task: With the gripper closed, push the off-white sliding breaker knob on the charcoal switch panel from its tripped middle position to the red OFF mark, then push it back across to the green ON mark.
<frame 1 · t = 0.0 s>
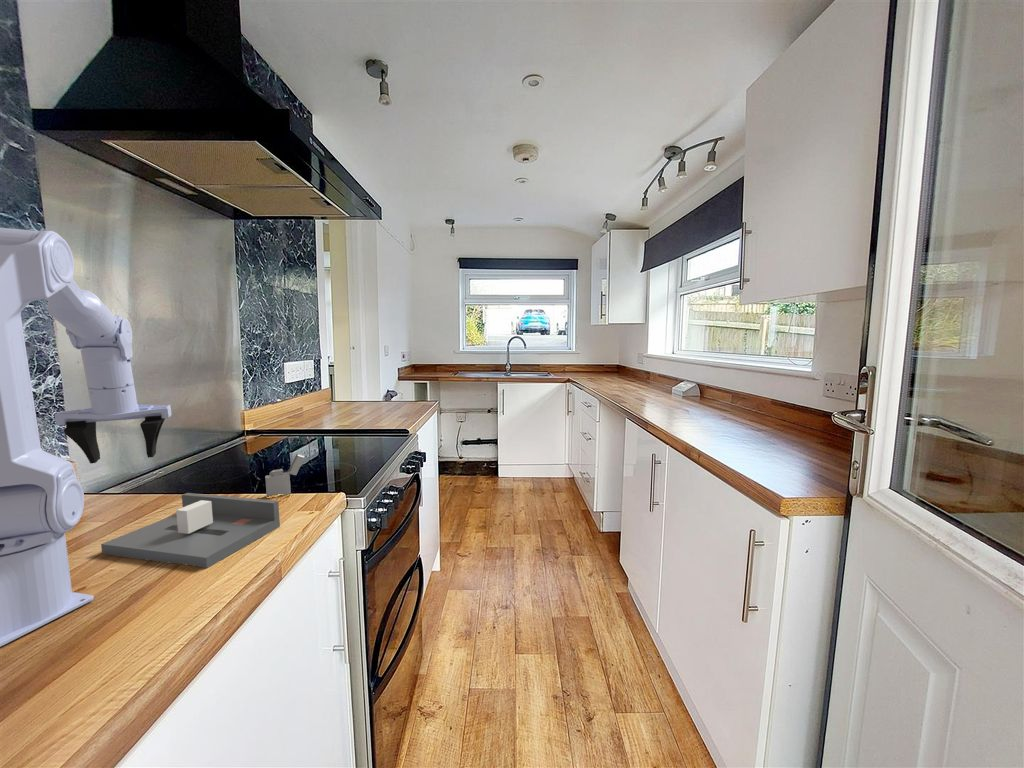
hand: (124, 458, 72), 11 cm above the counter, tool pointing down, fingers open, 7 cm apart
lighter: (287, 494, 83), on the counter
switch panel: (197, 539, 64), on the counter
breaker knob: (195, 516, 63), point 4 cm above the counter, slide at 0.0 cm
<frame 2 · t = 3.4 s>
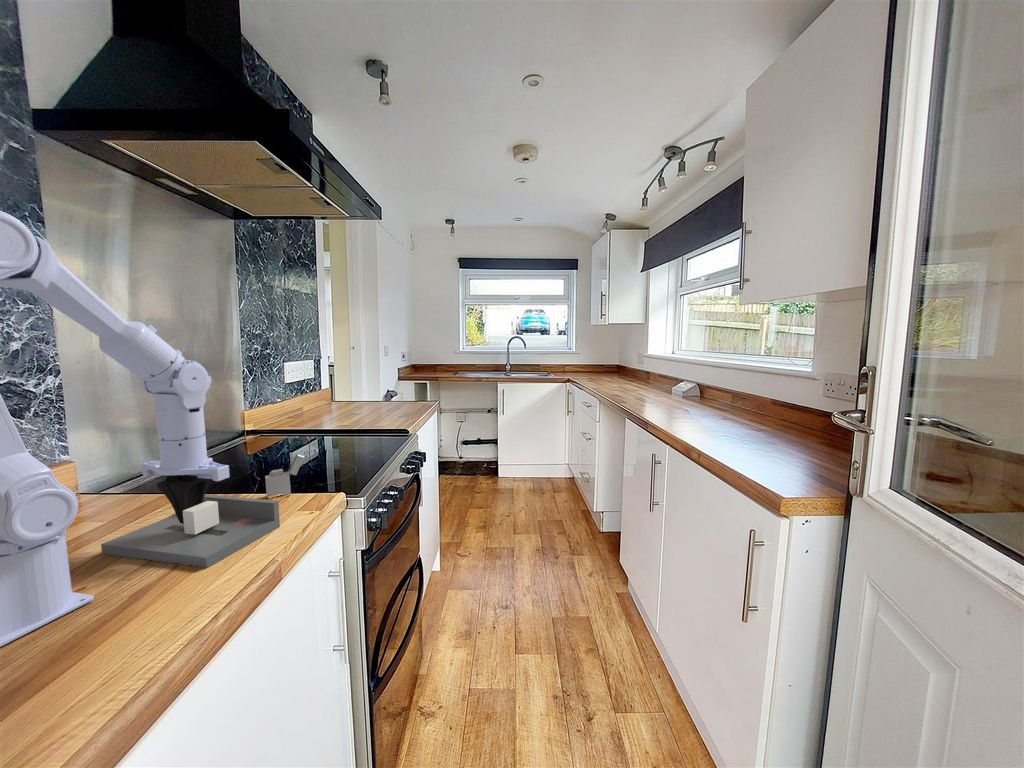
hand: (189, 521, 64), 3 cm above the counter, tool pointing down, fingers closed
breaker knob: (201, 517, 63), point 4 cm above the counter, slide at -1.3 cm, touching gripper
everything else where it was.
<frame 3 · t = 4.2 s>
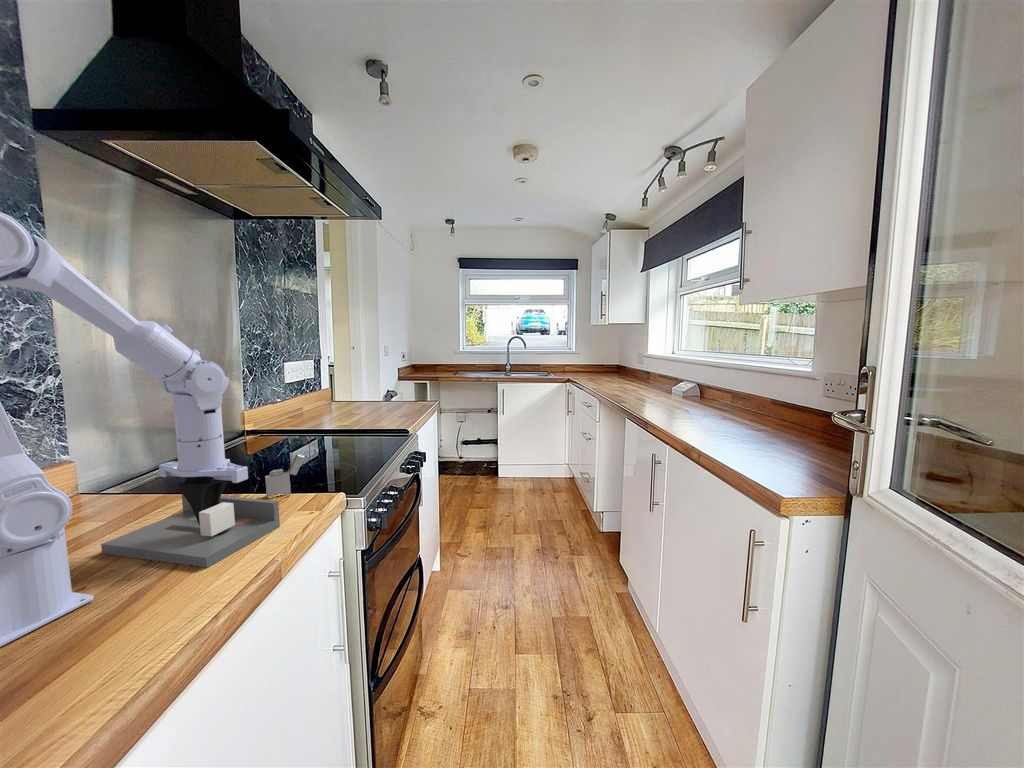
hand: (207, 523, 63), 3 cm above the counter, tool pointing down, fingers closed
breaker knob: (217, 518, 62), point 4 cm above the counter, slide at -4.3 cm, touching gripper
everything else where it was.
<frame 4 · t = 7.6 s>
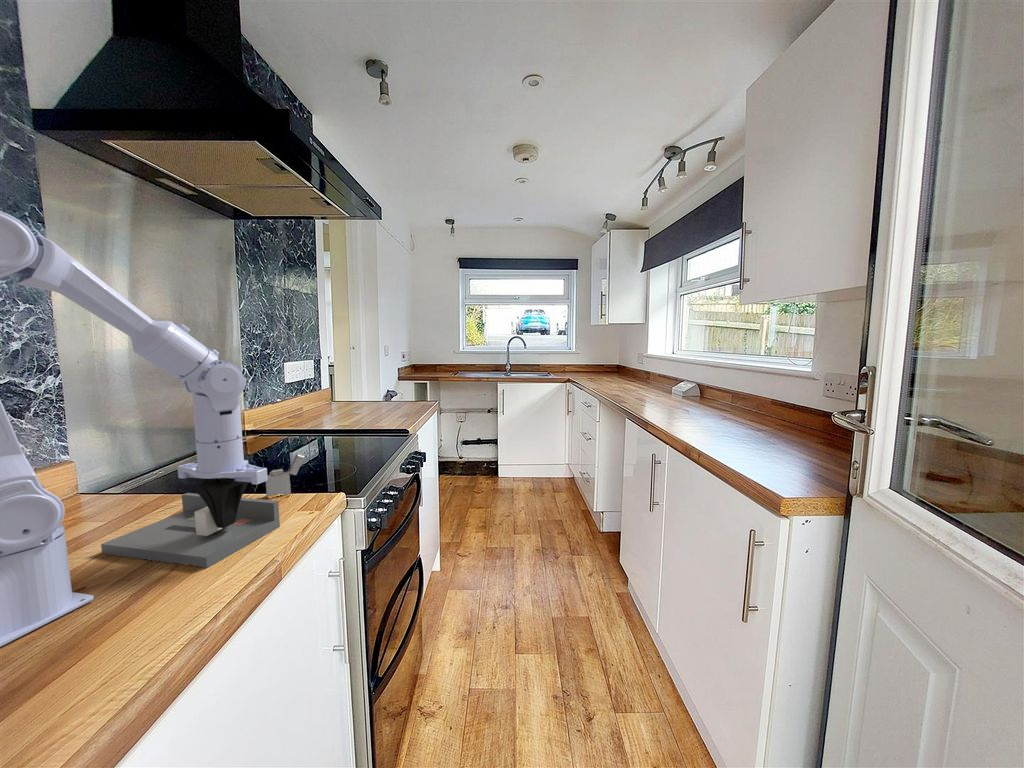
hand: (226, 525, 62), 3 cm above the counter, tool pointing down, fingers closed
breaker knob: (213, 518, 63), point 4 cm above the counter, slide at -3.5 cm, touching gripper
everything else where it was.
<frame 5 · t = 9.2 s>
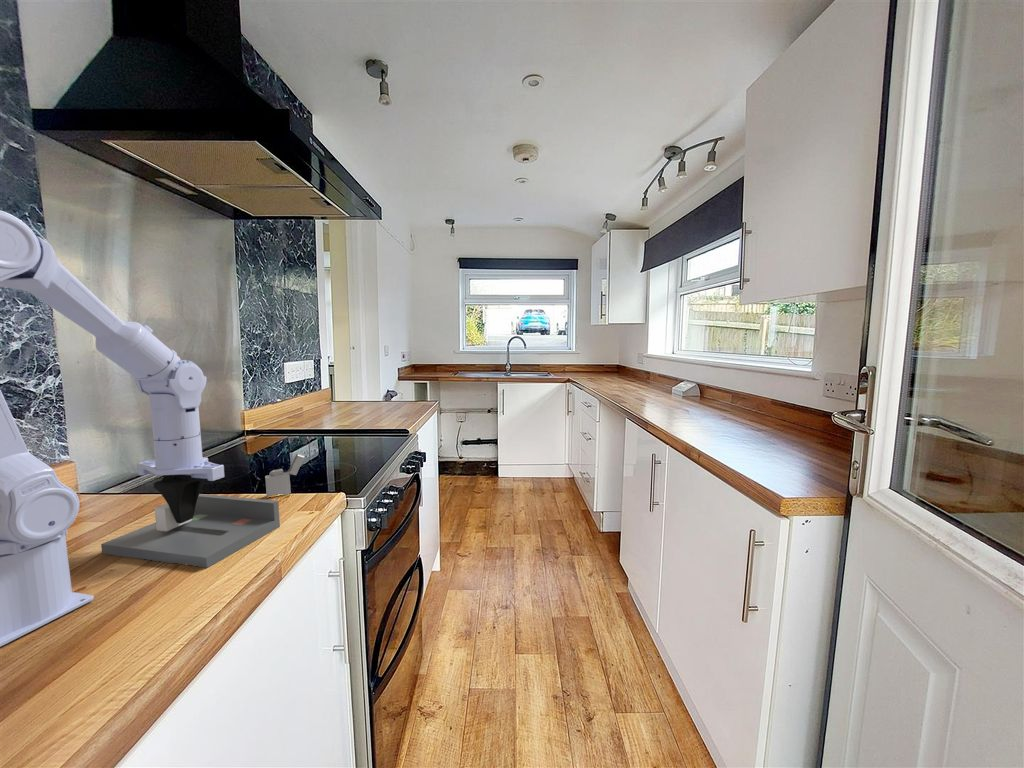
hand: (184, 520, 64), 3 cm above the counter, tool pointing down, fingers closed
breaker knob: (173, 514, 64), point 4 cm above the counter, slide at 4.2 cm, touching gripper
everything else where it was.
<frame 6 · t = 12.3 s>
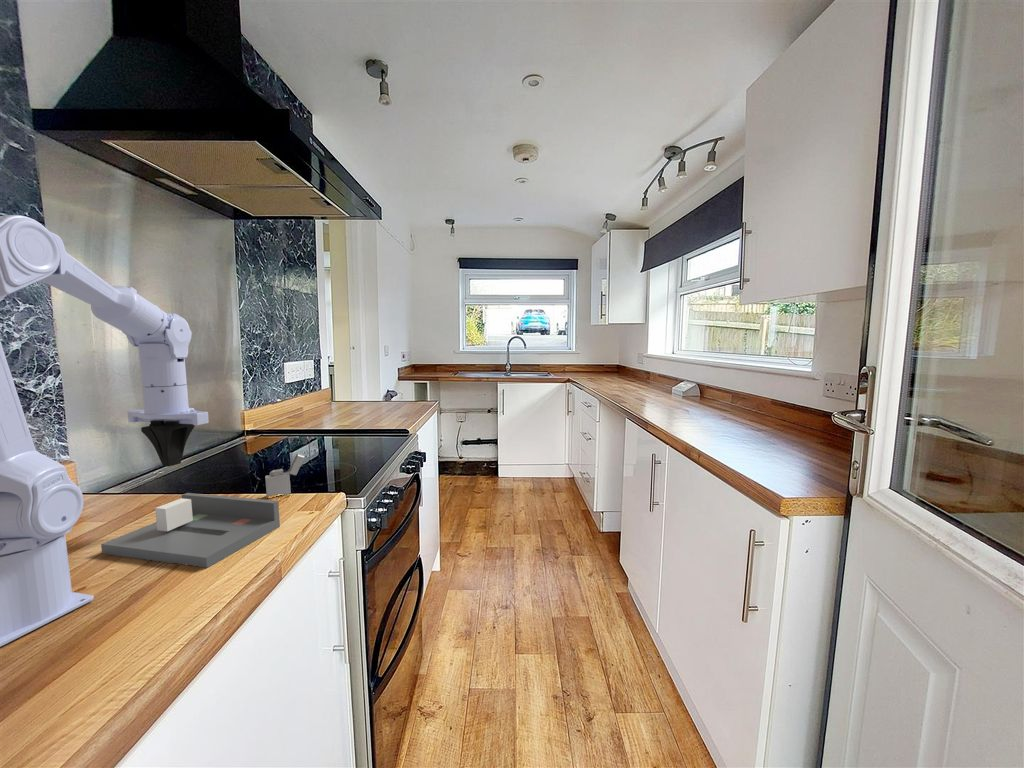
hand: (172, 464, 68), 10 cm above the counter, tool pointing down, fingers closed
breaker knob: (174, 514, 64), point 4 cm above the counter, slide at 4.1 cm
everything else where it was.
at the end: breaker knob slide at 4.1 cm; lighter moved 0.2 cm from its start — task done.
